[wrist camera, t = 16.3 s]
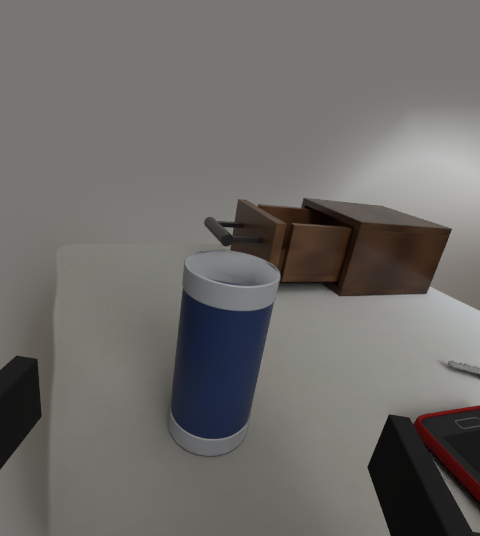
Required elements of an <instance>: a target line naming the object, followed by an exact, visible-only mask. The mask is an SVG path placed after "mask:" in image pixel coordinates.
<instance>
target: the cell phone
mask: <svg viewBox="0 0 480 536" xmlns="http://www.w3.org/2000/svg"><path fill="white" fill-rule="evenodd" d="M414 427H415V429H416V431H417V433H418V434H419V436H420V438H421V440H422V441H423V442H424V443H425V444H426V445H427V446H428V447H429V448H430V450H431V451H432V452H433V453H434V454H435V455H436V456H437V457H438V458H439V459H440V460H441V461H442V462H443V464H444V465H445V466H446V467H447V468H448V469H449V470H450V471H451V472H452V473H453V474H454V475H455V476H456V477H457V479H458V480H459V481H460V482H461V483H462V484H463V485H464V486H465V487H466V488H467V489H468V490H469V491H470V493H471V494H472V495H473V496H474V497H475V498H476V499H477V500H478V501H479V502H480V406H473V407H467V408H461V409H454V410H448V411H442V412H435V413H429V414H424V415H421V416H419V417H418V418H417V419H416V421H415V423H414Z"/></svg>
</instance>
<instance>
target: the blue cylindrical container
mask: <svg viewBox="0 0 480 536" xmlns="http://www.w3.org/2000/svg"><path fill="white" fill-rule="evenodd" d="M279 281H280V272H279V270H278V269H277V268H276V267H275V266H274V265H272V264H271V263H269V262H267V261H265V260H263V259H261V258H258V257H256V256H253V255H249V254H245V253H241V252H235V251H227V250H206V251H199V252H196V253H193V254H191V255H189V256H188V257H187V258H186V259H185V262H184V272H183V282H182V285H183V292H182V301H181V311H180V320H179V330H178V339H177V349H176V359H175V368H174V378H173V387H172V397H171V401H170V407H169V417H168V426H169V430H170V433H171V435H172V437H173V438H174V440H175V441H176V442H177V443H178V444H179V445H180V446H181V447H183V448H184V449H186V450H187V451H189V452H192V453H194V454H198V455H203V456H217V455H222V454H225V453H228V452H230V451H232V450H233V449H235V448H236V447H237V446H239V445H240V443H241V442H242V441H243V439H244V438H245V436H246V433H247V428H248V424H249V419H250V410H251V406H252V401H253V397H254V392H255V387H256V383H257V378H258V373H259V369H260V364H261V359H262V355H263V350H264V346H265V341H266V336H267V332H268V327H269V322H270V318H271V313H272V309H273V304H274V301H275V299H276V295H277V290H278V286H279Z"/></svg>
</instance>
